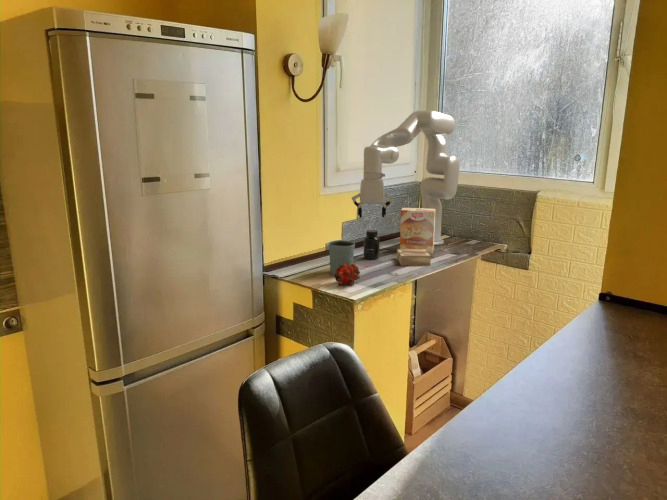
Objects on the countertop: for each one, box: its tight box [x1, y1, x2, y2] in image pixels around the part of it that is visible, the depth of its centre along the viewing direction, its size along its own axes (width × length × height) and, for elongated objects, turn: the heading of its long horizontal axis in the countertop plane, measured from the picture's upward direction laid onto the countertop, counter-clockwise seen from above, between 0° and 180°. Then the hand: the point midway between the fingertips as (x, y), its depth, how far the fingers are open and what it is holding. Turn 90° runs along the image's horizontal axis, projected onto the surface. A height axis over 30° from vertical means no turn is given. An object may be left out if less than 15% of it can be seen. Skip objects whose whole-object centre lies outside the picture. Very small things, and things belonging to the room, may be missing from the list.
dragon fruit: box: [333, 262, 361, 286], centre depth 189 cm, size 8×8×12 cm
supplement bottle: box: [363, 229, 381, 261], centre depth 225 cm, size 7×7×12 cm
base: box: [396, 248, 432, 266], centre depth 220 cm, size 12×12×4 cm
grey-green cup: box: [328, 239, 356, 276], centre depth 203 cm, size 10×10×12 cm
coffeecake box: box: [399, 207, 436, 255], centre depth 236 cm, size 15×7×20 cm, turn 76°
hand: (371, 216), depth 222 cm, fingers open, 9 cm apart
